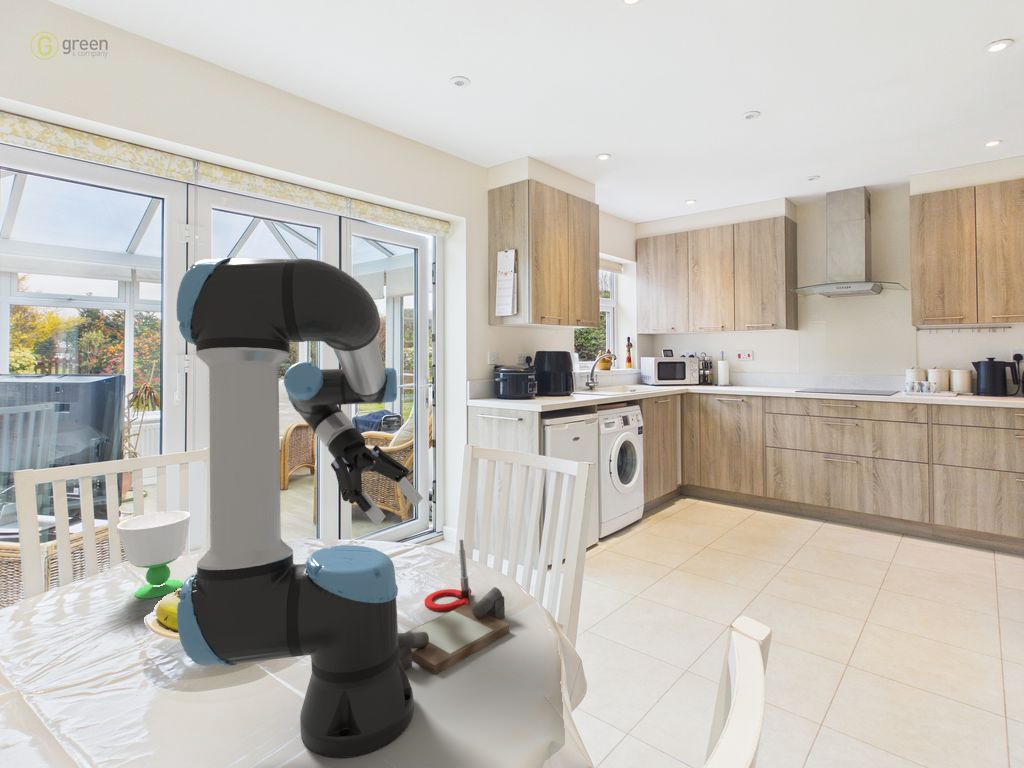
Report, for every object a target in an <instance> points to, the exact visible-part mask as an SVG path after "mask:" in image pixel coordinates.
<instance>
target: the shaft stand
mask: <svg viewBox="0 0 1024 768" xmlns="http://www.w3.org/2000/svg"><path fill="white" fill-rule="evenodd" d="M505 610H506V608H505V596H503V593H502V591H501V590H500V589H499V588H498V587H496V586H494V587H492V588H491V589H490V590H489V591H488V592H487V593H486V594H485V595H484V596H483V597H482V598H481V599H480V600H479V601H478V602H477V603H476V604H475V605H474V606H472V607H471V606H470V605H469V604H468V605H466V604H465V605H463V606H460V607H458V608H455V609H452V610H449V611H447V612H445V613H444V614H441V615H439V616H438V617H436V618H432V619H430V620H429V621H426V622H425V623H423V624H421V625H418V626H417V627H414V628H412V629H410V630H408V631H405V632H398V645H399V658H400V660H401V663H402V665H403V668H404V670H405V671H407V670H408V669H410V668H412V667H413V662H414V663H415V664H417V665H419V666H420V667H422V668H423V669H426V670H427V671H429V672H430V673H432V674H434V675H437V674H439V673H440V672H443V671H444V670H446V669H447V668H449V667H451V666H452V665H455V664H456V663H459V662H460V661H462V660H464V659H465V658H467V657H469V656H470V655H472V654H474V653H476V652H478V651H479V650H481V649H483V648H485V647H486V646H488V645H489V644H492V643H493V642H495V641H497V640H499V639H501V638H502V637H504V636H505V635H507V634H509V633H510V632H511V631H510V624H509V623H508V622H505V621H502V619H504V618H505V616H506V614H505V612H506V611H505Z"/></svg>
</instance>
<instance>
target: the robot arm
mask: <svg viewBox="0 0 1024 768" xmlns="http://www.w3.org/2000/svg"><path fill="white" fill-rule="evenodd" d="M178 287H179V288H178V291H177V298H176V319H177V321H178V322H179V325H178V328H179V332H180V334H181V336H182V338H183V339H184V340H185V341H186V342H187V343H189V344H192V345H194V346H196V347H195V349H196V350H195V351H196V352H195V356H196V357H197V358H199V359H200V360H201V361H202V362H203V363H204V364H205V365H206V366H207V367H208V372H209V373H208V374H209V376H208V378H209V391H208V392H209V395H208V396H209V401H208V403H209V407H208V409H209V530H210V531H209V536H210V537H209V538H210V539H209V545H210V547H209V548H208V550H207V551H206V552H205V553H204V554H203V555H202V557H201V558H200V559H199V560H198V561H197V563H196V572H194V573H193V574H191V575H189V576H188V577H187V578H186V579H185V580H184V583H183V586H182V587H181V588H180V591H179V599H180V601H179V602H177V608H176V622H177V630H178V631H177V632H178V636H179V641H180V644H181V646H182V648H183V651H184V652H185V654H186V656H187V657H188V658H189V659H191V660H192V662H193V663H195V664H196V665H198V666H199V665H200V666H206V667H208V666H222V665H223V666H227V667H232V666H236V665H238V664H245V663H252V662H263V661H271V660H279V659H287V658H295V657H302V656H303V657H304V656H305V657H306V656H310V659H311V674H310V678H309V682H308V685H307V688H306V692H305V696H304V698H303V704H302V706H301V710H300V715H299V720H300V721H299V722H300V725H299V726H300V736H301V740H302V742H303V744H304V745H305V746H306V747H307V748H308V749H309V750H311V751H313V752H314V753H317V754H319V755H322V756H325V757H329V758H347V757H348V758H349V757H355V756H359V755H363V754H367V753H370V752H373V751H376V750H378V749H380V748H382V747H384V746H386V745H388V744H389V743H391V742H392V741H394V740H396V739H397V738H398V736H400V735H401V734H402V733H404V731H405V730H406V729H407V727H408V726H409V725H410V723H411V721H412V718H413V715H414V708H415V707H414V693H413V687H412V686H411V683H410V681H409V678H408V676H407V672H406V670H404V668H403V665H402V663H401V660H400V658H399V645H398V633H399V629H398V628H399V627H398V606H397V596H398V592H399V587H398V585H397V580H396V570H395V565H394V562H393V560H392V559H391V558H390V557H389V556H388V555H387V554H386V553H384V552H382V551H381V550H378V549H376V548H372V547H369V546H363V545H355V544H354V545H352V544H351V545H348V544H346V545H344V544H342V545H341V544H340V545H332V546H331V547H329V548H328V547H324V548H320V549H317V550H316V551H314V552H312V553H310V555H309V556H308V557H307V559H306V562H305V563H301V564H300V563H299V564H295V563H294V550H293V548H292V546H289V544H287V543H286V542H285V541H283V539H282V522H281V519H282V517H281V516H282V515H281V509H282V508H281V463H280V462H281V461H280V460H281V459H280V458H281V456H280V455H281V453H280V450H281V449H280V446H281V445H280V444H281V443H280V397H279V396H280V395H279V394H280V392H279V389H280V388H279V367H280V366H281V365H282V364H283V363H284V362H286V360H287V359H288V358H290V352H291V351H290V350H291V349H290V346H291V343H304V342H324V343H325V344H326V345H327V346H328V347H330V348H331V349H333V352H334V353H335V356H336V358H337V360H338V363H339V365H340V367H341V368H331V369H330V368H329V369H328V368H324V369H320V368H319V366H317V365H316V364H314V363H311V362H309V361H300V362H297V363H294V364H292V365H291V366H290V367H289V368H288V369H287V370H286V372H285V374H284V376H283V385H284V387H285V390H286V393H287V396H288V400H289V401H290V403H291V405H292V407H293V408H294V410H295V411H296V412H297V413H298V414H299V415H300V416H301V418H302V419H303V420H304V421H305V422H306V424H307V425H308V426H309V428H310V429H311V430H312V431H313V432H314V434H315V435H316V436H317V437H318V439H319V440H320V441H321V442H322V443H323V446H325V448H327V449H328V452H329V453H330V454H331V456H332V457H333V458H334V460H333V461H332V462H331V463H330V466H331V468H332V470H333V471H334V473H335V476H336V480H337V484H338V487H339V490H340V494H341V498H342V500H343V501H344V502H348V503H349V504H352V505H353V504H354V503H356V505H357V506H358V507H359V508H360V510H361V511H362V512H363V513H365V514H366V516H367V517H368V518H369V519H370V520H371V521H372V523H373V524H374V525H375V526H376V527H377V526H379V525H380V524H381V522H383V521H384V519H385V518H386V514H384V512H383V511H382V509H381V508H380V507H379V506H378V505H377V503H376V502H375V501H374V500H373V499H372V497H371V496H370V495H369V493H368V492H367V491H366V492H363V481H362V474H363V473H365V472H367V473H368V472H372V473H373V472H376V473H377V474H380V475H382V476H384V477H386V478H388V479H390V480H392V481H394V482H396V483H397V484H396V486H397V487H398V489H399V490H400V492H402V494H403V495H404V496H405V497H406V499H407V500H408V501H409V502H410V503H411V504H412V506H413V507H414V508H415V507H417V506H418V505H419V504H420V503H421V501H422V500H424V497H423V496H422V495H421V494H420V492H419V491H418V490H417V489H416V488H415V486H414V485H413V484H412V482H411V481H410V480H409V478H408V475H409V473H410V470H409V469H408V468H407V467H405V466H404V465H403V464H402V463H400V462H399V461H397V460H396V459H394V458H393V457H392V456H390V455H388V453H386V452H384V451H383V449H381V448H380V446H379V445H374V446H373V448H371V449H370V448H368V447H367V445H366V438H365V436H364V435H362V433H361V431H359V430H358V429H357V428H355V424H354V423H353V422H352V421H351V420H350V418H349V417H348V416H347V414H346V413H344V412H343V410H342V409H341V408H340V407H339V405H360V404H361V405H363V404H364V405H366V404H367V405H369V404H370V405H371V404H374V405H375V404H379V405H381V404H383V403H384V404H385V403H393V402H396V400H397V398H398V378H397V377H398V375H397V371H396V369H395V368H393V367H385V366H384V361H383V358H382V353H381V348H380V343H379V338H378V334H379V331H380V329H381V328H380V327H381V319H380V318H381V317H380V313H379V310H378V306H377V304H376V301H375V300H374V299H373V297H372V296H371V294H370V293H369V291H367V289H366V288H365V287H364V286H363V285H362V284H361V283H360V282H359V281H357V280H356V279H355V278H354V277H352V276H351V275H349V274H348V273H347V272H345V271H343V270H342V269H340V268H338V267H336V266H334V265H332V264H329V263H327V262H324V261H321V260H315V259H312V258H311V259H310V258H293V259H292V258H253V257H252V258H249V257H248V258H245V257H244V258H243V257H242V258H240V257H224V258H216V259H215V258H213V259H203V260H198V261H197V262H195V263H193V264H192V265H191V266H189V268H188V269H187V270H186V271H185V273H184V275H183V277H182V279H181V281H180V284H179V286H178Z"/></svg>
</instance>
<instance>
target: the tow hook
mask: <svg viewBox="0 0 1024 768" xmlns="http://www.w3.org/2000/svg"><path fill="white" fill-rule="evenodd" d="M464 546H465V545H464V539H459V550H458V552H459V565H460V566H459V567H460V586H461V590H460V589H455V588H454V589H453V588H448V589H441V590H437V591H434V592H432V593H430V594H429V595H427V596H426V597H425V599H424V607H425V608H427V610H430V611H436V612H446V611H447V612H448V611H452V610H454V609H456V608H458V607H460V606H463V605H465V604H466V605H468V606H469V603H470V601H471V596H472V589H471V588H470V584H469V576H468V570H467V560H466V559H467V558H466V557H467V556H466V550H465V547H464ZM445 596H453V597H456V598H458V599H456V600H454V601H452V602H449V603H442V604H441V603H435V602H434V600H436V599H438V598H441V597H445Z"/></svg>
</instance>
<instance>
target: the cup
mask: <svg viewBox="0 0 1024 768" xmlns="http://www.w3.org/2000/svg"><path fill="white" fill-rule="evenodd" d="M165 511H166V513H165V512H164V511H157V512H151V513H145V514H142V515H141V514H140V515H137V516H133V517H130V518H127V519H124V520H122V521H121V522H119V523H118V524H117V526H116V530H117V533H118V536H119V539H120V542H121V545H122V547H123V551H124V554H125V558H126V560H127V562H129V563H130V565H132V566H135V567H137V568H144V569H147V571H146V575H145V579H146V582H147V583H149V584H147V585H144V586H141V587H139V589H137V590H136V591H134V597H136V598H138V599H145V600H146V599H154V598H160V597H164V596H168V595H169V594H173V593H174V591H175V590H176V589H178V588H180V589H181V588H182V586H183V584H184V583H183V581H181V580H179V579H177V580H176V579H169V578H170V577H171V569H170V567H169V566H168V564H171V563H173V562H174V561H176V560H177V559H178V558H179V557H181V556H182V555H183V553H184V551H185V549H186V543H187V537H188V531H189V525H190V520H191V513H190V512H189V511H185V510H165ZM163 583H165V585H163V586H160V587H153V585H161V584H163ZM175 592H176V591H175Z"/></svg>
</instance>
